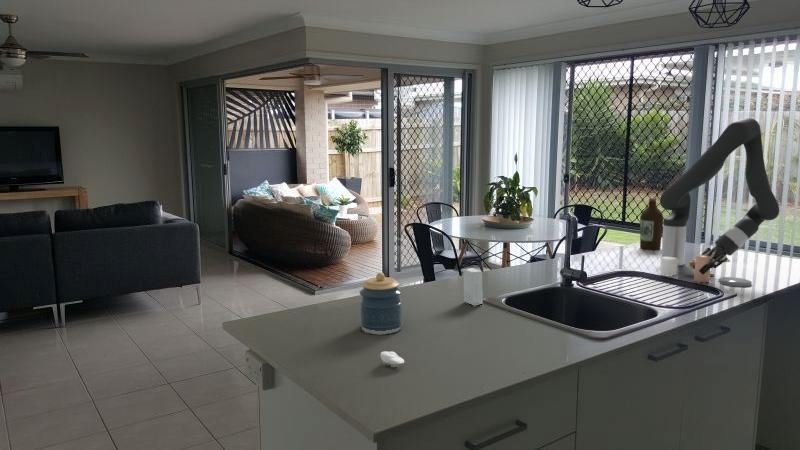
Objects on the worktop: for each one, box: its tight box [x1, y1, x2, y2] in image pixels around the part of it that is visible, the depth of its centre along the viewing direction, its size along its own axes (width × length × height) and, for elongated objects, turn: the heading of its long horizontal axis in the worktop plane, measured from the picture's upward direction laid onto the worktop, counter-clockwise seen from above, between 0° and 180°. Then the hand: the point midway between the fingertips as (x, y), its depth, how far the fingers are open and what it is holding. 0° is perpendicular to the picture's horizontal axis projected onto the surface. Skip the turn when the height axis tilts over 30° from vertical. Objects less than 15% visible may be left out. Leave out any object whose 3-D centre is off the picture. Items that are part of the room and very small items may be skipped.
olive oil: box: [639, 198, 664, 251], centre depth 295 cm, size 11×11×25 cm
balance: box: [685, 258, 731, 277], centre depth 241 cm, size 5×16×9 cm, turn 78°
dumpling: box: [380, 351, 405, 365], centre depth 152 cm, size 7×5×4 cm
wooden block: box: [693, 254, 711, 283], centre depth 231 cm, size 5×5×10 cm
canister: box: [359, 272, 403, 331], centre depth 180 cm, size 13×13×18 cm
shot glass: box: [659, 256, 679, 276], centre depth 243 cm, size 7×7×7 cm
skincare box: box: [462, 267, 484, 305], centre depth 205 cm, size 6×4×12 cm
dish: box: [718, 276, 752, 288], centre depth 228 cm, size 11×11×1 cm
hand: (697, 270), depth 231 cm, fingers closed on wooden block, 5 cm apart
